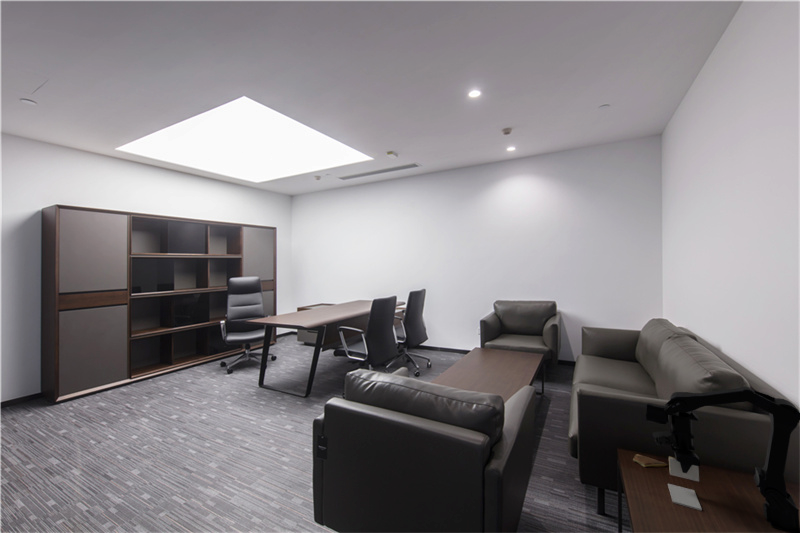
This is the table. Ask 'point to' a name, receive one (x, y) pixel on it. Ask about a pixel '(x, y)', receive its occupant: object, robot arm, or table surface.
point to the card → (677, 470)
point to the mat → (684, 497)
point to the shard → (647, 461)
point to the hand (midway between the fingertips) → (684, 471)
